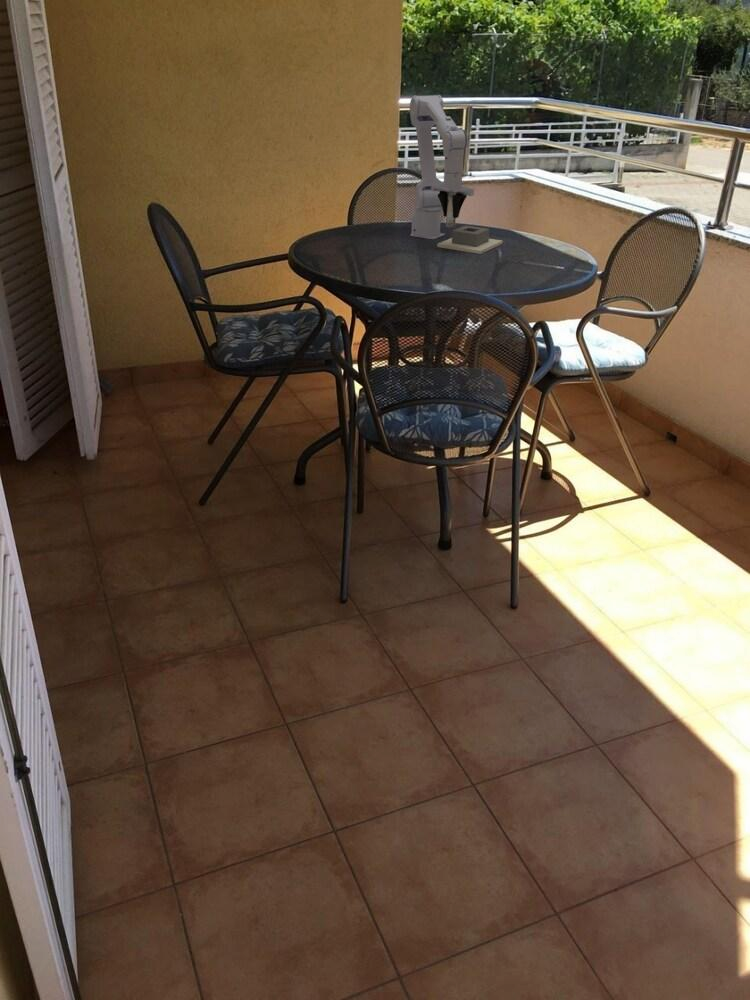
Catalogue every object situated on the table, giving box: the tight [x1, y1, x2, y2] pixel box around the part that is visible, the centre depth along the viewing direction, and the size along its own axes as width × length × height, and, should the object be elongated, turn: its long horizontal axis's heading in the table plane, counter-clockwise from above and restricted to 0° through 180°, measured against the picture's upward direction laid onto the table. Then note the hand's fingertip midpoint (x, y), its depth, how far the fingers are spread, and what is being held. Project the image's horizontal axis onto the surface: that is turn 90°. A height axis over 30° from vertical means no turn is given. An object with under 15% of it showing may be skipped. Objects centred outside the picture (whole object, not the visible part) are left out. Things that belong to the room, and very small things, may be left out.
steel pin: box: [445, 193, 457, 228], centre depth 266 cm, size 3×3×10 cm
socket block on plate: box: [436, 225, 504, 255], centre depth 274 cm, size 16×16×5 cm
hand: (451, 216), depth 267 cm, fingers closed on steel pin, 3 cm apart
